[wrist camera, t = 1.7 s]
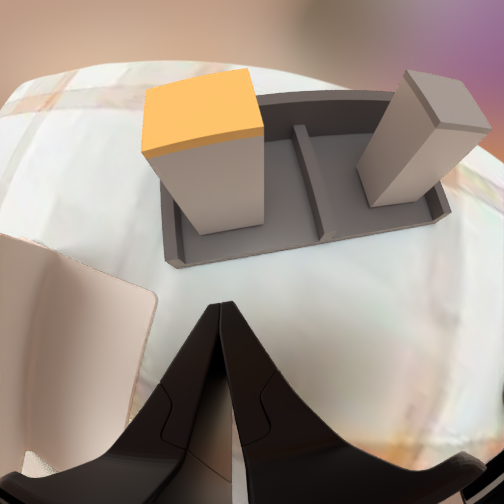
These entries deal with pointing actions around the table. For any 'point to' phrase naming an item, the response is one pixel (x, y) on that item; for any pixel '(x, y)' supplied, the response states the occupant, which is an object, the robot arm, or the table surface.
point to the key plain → (420, 138)
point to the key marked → (208, 148)
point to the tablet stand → (65, 355)
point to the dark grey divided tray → (305, 182)
